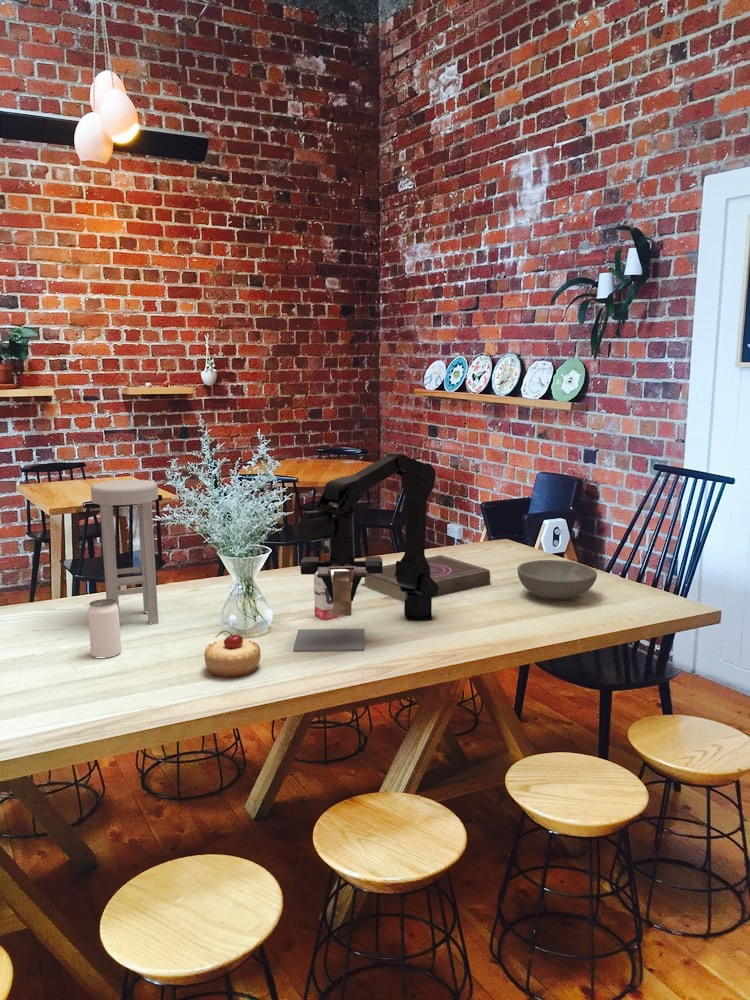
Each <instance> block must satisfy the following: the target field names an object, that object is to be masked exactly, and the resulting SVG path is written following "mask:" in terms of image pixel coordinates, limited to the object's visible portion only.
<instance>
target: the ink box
mask: <svg viewBox="0 0 750 1000" xmlns="http://www.w3.org/2000/svg"><path fill="white" fill-rule="evenodd" d="M334 571H348V570H346V569H331V577H332V584H333V575H334ZM317 573H318V571H317V572H316V573H315V574H313V588H314V589H313V591H314V593H313V595H314V616H315V617H317V618H318V619H320V620H322V621H326V620H331V619H335V618H341V617H342V616H333V602H332V600H331V597H330V595H329V592H328V590H327V587H326V585H325V584H324V582H323V580H322V578H317Z"/></svg>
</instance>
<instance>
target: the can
mask: <svg viewBox="0 0 750 1000" xmlns="http://www.w3.org/2000/svg"><path fill="white" fill-rule="evenodd" d="M87 614H88V617H87V618H88V631H89V632H88V633H89V644H90V654H91V656H92V657H93V656H95V657H109V656H113V655H116V654H118V653H119V654H120V653H121V652H122V641H121V639H122V638H121V622H120V623H119V614H120V608H119V609H118V606H117V604H116V600H114V599H106V598H99V599H95V600H93V601H90V602H89V607H88V610H87ZM119 654H118V655H119ZM95 657H94V658H95Z"/></svg>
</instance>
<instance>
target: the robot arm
mask: <svg viewBox="0 0 750 1000" xmlns="http://www.w3.org/2000/svg"><path fill="white" fill-rule="evenodd" d="M394 474H395V475H396V476H399V477H400V480H401V487H402V489H403V492H404V493H405V496H406V515H405V516H406V517H405V519H406V520H405V535H404V536H405V539H404V541H405V542H404V554H403V556H402V557H401V559H400V560H396V562H395V564H396V573H395V577H396V578H397V583H399V586H400V589H401V591H402V592H406V597H405V598H404V602H403V604H404V605H403V612H404V613H403V614H404V617H405V618H406V620H408V621H424V620H425V621H431V620H433V619H434V618H433V614H432V611H433V610H432V607H433V606H432V601H433V598H435V597H434V595H437V593H438V588H439V586H438V585H437V584H436V583H435V582H434V581H433V580H432V579H431V577H430V566H429V564H428V562H427V560H426V558H427V557H426V556H425V555H426V554H425V549H426V546H425V545H426V532H427V531H426V530H427V529H426V527H427V511H428V510H427V508H428V497H430V495H431V493H432V491H433V490H434V487H435V481H436V475H437V474H436V469H435V468H434V466H433V465H432V464H431V463H428V462H421V461H419V460H417V459H413V458H411V457H409V456H407V455H405V453H398V452H388V453H387V454H385V456H384V457H382V458H380V459H378V460H377V461H375V462H373V463H372V464H370V465H368V466H366V467H365V468H363V469H361V470H359V471H358V472H356V473H354V474H351V475H347V476H341V477H340V476H339V477H338V478H335V479H332V480H331V479H330V480H329V481H327V482H326V484H325V485H324V490H323V491H322V494H321V496H320V497H319V499H318V502H317V503H316V505H315V507H314V510H312V511H310V510H305V511H303V516H302V518H301V519H299V522H298V525H297V531H298V535H299V538H300V540H301V541H302V542H305V543H312V542H317V541H323V540H324V541H323V545H324V546H323V554H324V555H328V558H329V559H328V560H320V558H319V556H310V557H309V556H304V557H303V558H302V559H301V561H300V575H303V576H305V575H308V576H309V575H314V574H315V573H316V572H317V571H318V573H317V578H322V580H323V582H324V584H325V585H326V587H327V590H328V592H329V595H330V597H331V600H332V602H333V584H332V577H331V569H354V573H353V582H352V590H351V602H354V598H355V595H356V592H357V588H358V586H359V585H360V583H361V580H362V579H363V578H365V577H366V571H367V572H368V573H369V574H380V573H383V566H384V564H383V558H382V557H381V556H379V555H376V556H374V555H373V556H367V555H366V556H365V557H364V558H365V560H355V561H354V559H355V558H356V557H355V555H356V554H355V553H356V552H355V535H354V533H355V532H354V531H355V528H354V524H355V523H354V519H355V518H354V516H357V515H361V514H362V511H361V510H360V509H359V508H357V507H356V504H358V503H359V502H360V501H361V500H362V499H363V496H364V494H365V493H366V492H367V491H368V490H370V489H372V488H373V487H374V486H376V485H378V484H380V483H382V482H383V481H385V480H387V479H388V478H389V477H391V476H393V475H394ZM350 564H351V565H350Z"/></svg>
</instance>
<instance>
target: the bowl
mask: <svg viewBox="0 0 750 1000" xmlns="http://www.w3.org/2000/svg"><path fill="white" fill-rule="evenodd" d="M517 577H518V579H519V580H520V583H521V584H522V586H523V587H524V588H525V589H526V590H527V591H529V592H530V593H531V594H533V595H535V596H537V597H539V598H543V599H546V600H553V601H555V600H556V601H564V600H571V599H575V598H579V597H580V596H582V595H584V594H586V593H587V592H589V590H590V589H591V588H592V587H593V585H594V584H595V582H596V581H597V577H598V574H597V571H596V570H595V569H593V568H592V567H591V566H588V565H587V564H584V563H579V562H575V561H570V560H569V561H568V560H559V559H558V560H555V559H542V560H541V559H539V560H533V561H528V562H523V563H521V564H520V565H518V567H517Z"/></svg>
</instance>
